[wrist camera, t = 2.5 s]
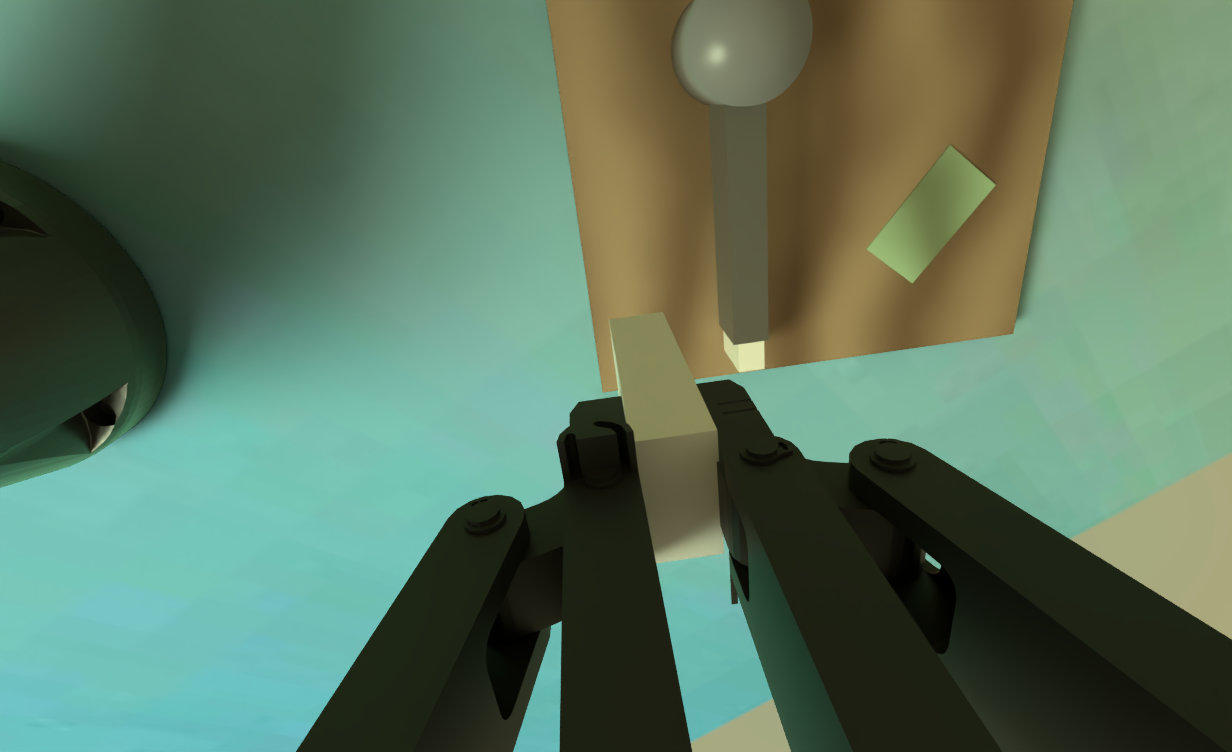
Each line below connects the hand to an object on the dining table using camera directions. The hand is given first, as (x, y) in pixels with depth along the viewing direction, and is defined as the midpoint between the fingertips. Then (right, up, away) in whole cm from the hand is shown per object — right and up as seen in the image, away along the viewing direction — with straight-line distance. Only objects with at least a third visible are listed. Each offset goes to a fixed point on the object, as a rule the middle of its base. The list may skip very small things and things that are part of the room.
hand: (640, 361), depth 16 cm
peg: (+4, +8, +10) cm, 14 cm away
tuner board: (+8, +9, +12) cm, 17 cm away
